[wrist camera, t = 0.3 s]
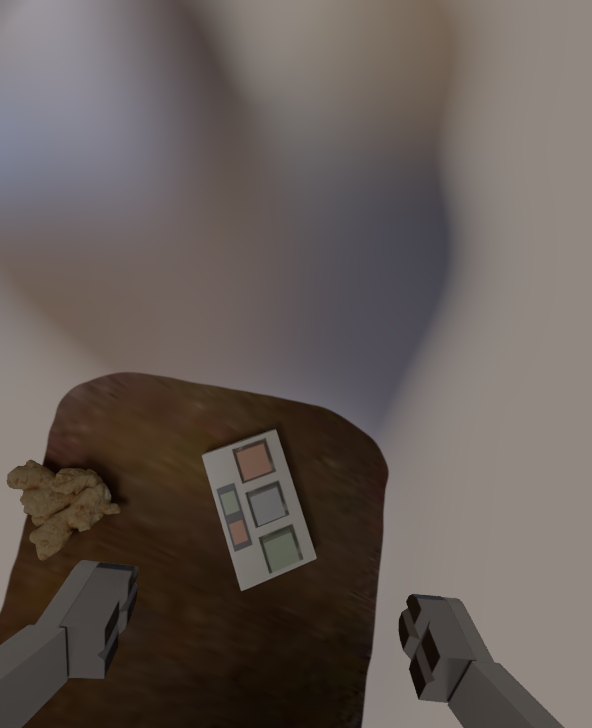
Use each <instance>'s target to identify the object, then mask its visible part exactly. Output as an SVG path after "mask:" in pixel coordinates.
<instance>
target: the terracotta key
mask: <svg viewBox="0 0 592 728" xmlns="http://www.w3.org/2000/svg"><path fill="white" fill-rule="evenodd" d="M236 454H237V457H238V460H239V464H240V467H241V470H242V473H243V477H244V480H245V481H246V480H248V479H251V478H254V477H256V476H259V475H262V474H264V473H267V472H270V471H272V470H271V467H270V463H269V460H268V457H267V454H266V451H265V447H264V444H263V443H260V444H257V445H255V446H252V447H249V448H246V449H243V450H240V451H237V453H236Z"/></svg>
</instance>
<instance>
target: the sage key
mask: <svg viewBox="0 0 592 728" xmlns="http://www.w3.org/2000/svg"><path fill="white" fill-rule="evenodd" d="M263 542H264V546H265V550H266V553H267V556H268V560H269V563H270V566H271V570H272V573H273V572H275V571H278V570H280V569H282V568H284V567H287V566H289V565H291V564H294V563H296V562H298V561H300V560H299V556H298V553H297V550H296V547H295V544H294V540H293V537H292V534H291V531H290V528H288V529H286V530H283V531H281V532H278V533H276V534H274V535H271V536H269V537H266V538H264V539H263Z"/></svg>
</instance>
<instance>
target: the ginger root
mask: <svg viewBox="0 0 592 728" xmlns="http://www.w3.org/2000/svg"><path fill="white" fill-rule="evenodd" d="M7 484H8V485H9V487H10V488H13V489H22V490H23V491H24V492H23V495H22V497H21V499H20V501H21V503H22V504H23V505H25V506H24V513H26V514H30V515H33V516H32V521H33V523H34V525H36V526H37V527H38V528H37V529H35V530H34V531H33V532H32V533H31V534H30V541H31V542H33V543H34V544H36V549H37V554H38V557H39V560H40V559H41V560H42V561H43V560H45V559H47V558H49V557H50V556H52V555H53V554H55V553H57V552H58V551H59V550H61V548H62V547H63V546H64V545H65V544H66V542H67V541H68V540H69V538H70V536H71V534H72V533H73V531H74V529H75V528H77V529H79V531H80V532H82V531H85V530H90V528H91V527H92V526H93V525H94V524H95V523H96V522H97V521H98V520H99V519H101V518H102V517H103V516H104V515H105V514H115V513H120V512H121V509H120V507H119V506H118V504H115V503H111V494H110V490H109V489H108V487H107V485H106V484H105V483H104V482H103V480H102V478H101V477H99V476H98V475H97V473H96V472H94V471H93V470H91V469H87V470H84V469H81V468H75V469H72V468H65V469H61V470H60V471H59V472H58V473H57V474H55V473H54V472H52V471H50V470H49V469H48V468H46V467H44V466H42V465H40V464H38V463H36V462H35V461H33V460H29V461H27V462H26V465H25V466H18V467H16V468H15V469H14V470H12V471H11V472H10V473H9V474H8V479H7Z"/></svg>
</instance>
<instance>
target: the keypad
mask: <svg viewBox="0 0 592 728" xmlns="http://www.w3.org/2000/svg"><path fill="white" fill-rule="evenodd" d="M260 443H263V444H264V447H265V451H266V454H267V457H268V460H269V463H270V467H271V470H272V471H270V472H267V473H264V474H262V475H259V476H256V477H254V478H251V479H248V480H246V481H245V480H244V477H243V473H242V470H241V467H240V464H239V460H238V457H237V454H236V453H237V451H240V450H243V449H246V448H249V447H252V446H255V445H257V444H260ZM202 458H203V461H204V465H205V468H206V472H207V475H208V479H209V482H210V485H211V489H212V492H213V496H214V499H215V503H216V506H217V510H218V513H219V516H220V520H221V523H222V527H223V530H224V534H225V537H226V541H227V544H228V547H229V551H230V554H231V558H232V561H233V565H234V568H235V572H236V575H237V578H238V582H239V585H240V589H241V591H243V590H246V589H248V588H250V587H253V586H255V585H257V584H259V583H262V582H264V581H266V580H269V579H271V578H273V577H276V576H278V575H280V574H283V573H285V572H287V571H289V570H292V569H294V568H296V567H299V566H301V565H303V564H306V563H308V562H310V561H312V560H315V559H317V557H316V554H315V551H314V548H313V545H312V542H311V538H310V535H309V532H308V529H307V526H306V523H305V519H304V516H303V513H302V510H301V507H300V504H299V501H298V497H297V494H296V491H295V488H294V485H293V482H292V478H291V475H290V472H289V469H288V466H287V463H286V460H285V456H284V453H283V450H282V447H281V444H280V441H279V437H278V434H277V431H276V429H272V430H269V431H266V432H263V433H260V434H258V435H255V436H252V437H249V438H246V439H243V440H240V441H237V442H234V443H232V444H229V445H226V446H223V447H220V448H217V449H214V450H211V451H208V452H206V453H204V454H203V455H202ZM274 485H276V486H277V489H278V492H279V495H280V499H281V502H282V505H283V508H284V511H285V516H282V517H280V518H277V519H275V520H272V521H270V522H267V523H265V524H262V525H260V526H258V523H257V520H256V517H255V513H254V510H253V507H252V503H251V500H250V494H253V493H255V492H258V491H261V490H263V489H266V488H269V487H271V486H274ZM288 528H290V531H291V534H292V537H293V540H294V544H295V547H296V550H297V553H298V556H299V560H300V561H298V562H296V563H294V564H291V565H289V566H287V567H284V568H282V569H280V570H278V571H275V572H273V573H272V570H271V566H270V563H269V560H268V556H267V553H266V550H265V546H264V542H263V539H264V538H266V537H269V536H271V535H274V534H276V533H278V532H281V531H283V530H286V529H288Z"/></svg>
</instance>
